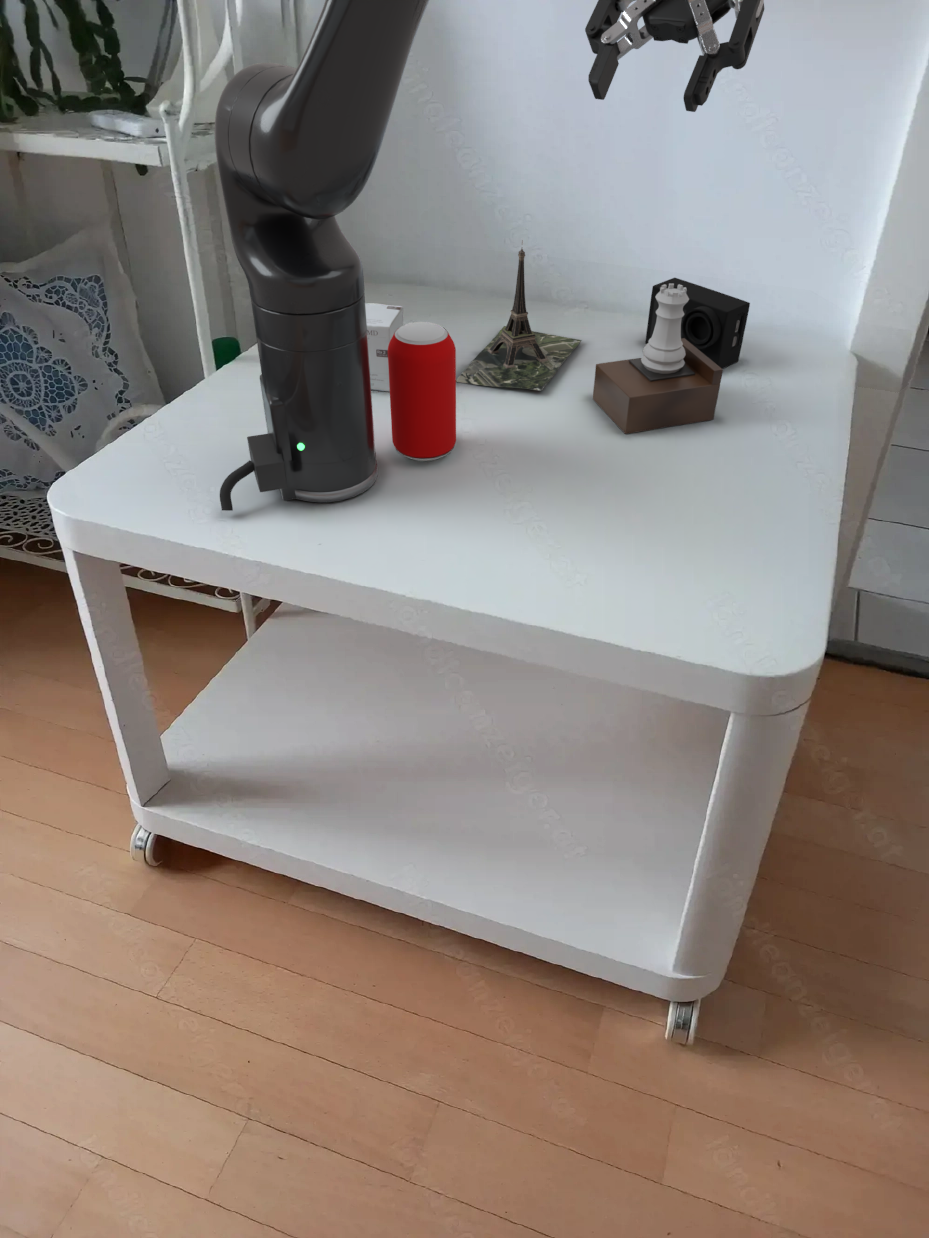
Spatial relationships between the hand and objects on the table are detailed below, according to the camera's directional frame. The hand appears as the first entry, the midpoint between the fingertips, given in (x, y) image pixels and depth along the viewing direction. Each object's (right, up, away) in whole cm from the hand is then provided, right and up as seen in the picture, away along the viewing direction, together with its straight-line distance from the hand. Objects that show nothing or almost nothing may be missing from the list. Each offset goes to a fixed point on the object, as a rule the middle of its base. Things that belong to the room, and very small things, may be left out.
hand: (641, 99), depth 80 cm
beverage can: (-19, -28, +11) cm, 36 cm away
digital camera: (+11, -14, +28) cm, 33 cm away
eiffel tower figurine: (-9, -15, +27) cm, 32 cm away
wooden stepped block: (+4, -23, +18) cm, 29 cm away
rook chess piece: (+5, -19, +16) cm, 25 cm away
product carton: (-25, -18, +23) cm, 39 cm away
